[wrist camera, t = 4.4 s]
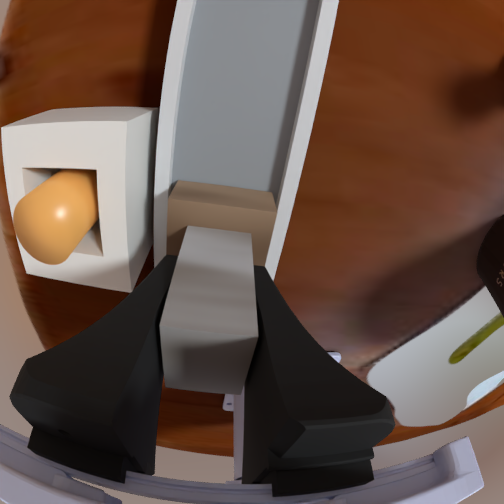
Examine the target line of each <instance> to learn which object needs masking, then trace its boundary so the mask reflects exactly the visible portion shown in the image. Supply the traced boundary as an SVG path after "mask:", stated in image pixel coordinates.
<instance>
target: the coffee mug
mask: <svg viewBox="0 0 504 504" xmlns="http://www.w3.org/2000/svg"><path fill="white" fill-rule="evenodd" d="M477 271H478V274H479V276H480V278H481V279H482V281H483V282H484V284H485V286H486V287H487V289H488V290H489V292H490V293H491V296H492V297H493V299H494V301H495V302H496V304H497V306H498V307H499V310H500V311H501V313H502V315H503V317H504V215H503V216H502V217H501V218H500V219H499V220H498V221H497V222H496V223H495V224H494V225H493V226H492V228H491V229H490V231H489V232H488V234H487V235H486V237H485V239H484V241H483V243H482V246H481V248H480V251H479V254H478V258H477Z"/></svg>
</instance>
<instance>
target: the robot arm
mask: <svg viewBox="0 0 504 504" xmlns="http://www.w3.org/2000/svg"><path fill="white" fill-rule="evenodd" d="M177 259H178V256H175V255H166V256H164V257H163V258H162V260H161V261H160V262H159V263H158V264H157V266H156V267H155V268H154V269H153V270H152V271H151V272H150V274H149V275H148V276H147V277H146V278H145V279H144V280H143V281H142V282H141V283H140V284H139V285H138V286H137V287H136V288H135V289H134V290H133V291H132V292H131V293H130V294H129V295H128V296H127V297H126V298H125V299H124V300H123V301H121V302H120V303H119V304H118V305H117V306H116V307H115V308H113V309H112V310H111V311H110V312H108V313H107V314H106V315H105V316H103V317H102V318H101V319H99V320H98V321H97V322H95V323H94V324H92V325H91V326H89V327H88V328H86V329H85V330H83V331H82V332H80V333H79V334H77V335H75V336H74V337H72V338H70V339H68V340H67V341H65V342H63V343H61V344H59V345H57V346H55V347H53V348H51V349H49V350H47V351H44V352H42V353H40V354H38V355H36V356H33V357H31V358H28V359H27V360H26V361H25V363H24V365H23V366H22V368H21V370H20V372H19V375H18V377H17V380H16V382H15V384H14V387H13V389H12V391H11V394H10V399H11V402H12V404H13V406H14V407H15V408H16V410H17V411H18V412H19V413H20V414H21V415H22V416H23V417H24V418H25V419H26V420H27V421H28V422H29V423H30V424H31V425H32V426H33V429H32V432H31V436H30V438H27V437H25V436H23V435H21V434H19V433H17V432H15V431H13V430H11V429H9V428H7V427H4V426H3V425H1V424H0V499H1V500H2V501H3V502H5V503H6V504H122V501H121V500H119V499H117V498H114V497H112V496H110V495H108V494H106V493H105V492H104V491H103V490H101V489H98V488H95V487H93V486H90V485H87V484H85V483H82V482H79V481H77V480H74V479H73V478H72V477H74V478H77V479H80V480H83V481H86V482H90V483H92V484H96V485H99V486H103V487H106V488H110V489H114V490H118V491H122V492H126V493H130V494H135V495H140V496H145V497H151V498H156V499H162V500H168V501H176V502H184V503H194V504H457V503H458V502H460V501H462V500H463V499H465V498H467V497H468V496H470V495H472V494H473V493H474V492H477V491H478V490H480V489H481V488H483V487H484V483H483V479H482V476H481V473H480V469H479V466H478V463H477V460H476V457H475V454H474V451H473V449H472V446H471V443H470V440H469V437H468V436H465V437H463V438H461V439H458V440H455V441H453V442H450V443H448V444H446V445H444V446H442V447H441V448H439V449H438V450H436V451H435V452H434V453H433V454H430V455H427V456H424V457H422V458H419V459H415V460H412V461H409V462H405V463H402V464H398V465H394V466H391V467H387V468H383V469H378V470H374V471H373V470H372V466H371V461H370V459H373V458H374V452H373V448H372V447H374V446H375V445H376V444H378V443H379V442H380V441H382V440H383V439H384V438H385V437H387V436H388V435H389V434H390V433H391V432H392V430H393V429H394V427H395V422H394V418H393V415H392V411H391V408H390V405H389V403H388V400H387V398H386V396H384V395H383V394H381V393H380V392H378V391H376V390H375V389H373V388H372V387H370V386H369V385H367V384H366V383H364V382H362V381H361V380H360V379H358V378H357V377H356V376H354V375H353V374H352V373H350V372H349V371H348V370H347V369H345V368H344V367H343V366H342V365H341V364H339V361H340V360H341V355H340V353H337V352H326V351H325V350H324V349H323V348H322V347H321V346H320V345H319V344H318V343H317V342H316V341H315V340H314V338H313V337H312V336H311V335H310V334H309V333H308V332H307V330H306V329H305V328H304V327H303V325H302V324H301V323H300V322H299V320H298V319H297V318H296V316H295V315H294V313H293V312H292V311H291V309H290V308H289V306H288V305H287V303H286V302H285V300H284V298H283V297H282V295H281V294H280V292H279V290H278V289H277V287H276V285H275V284H274V282H273V280H272V278H271V276H270V274H269V273H268V271H267V269H266V268H265V266H258V265H253V267H254V281H255V295H256V310H257V324H258V340H257V343H256V346H255V350H254V353H253V357H252V360H251V363H250V367H249V370H248V373H247V377H246V380H245V383H244V387H243V390H242V393H241V395H233V394H225V397H224V402H223V409H224V410H226V411H234V481H226V484H220V483H205V482H194V481H184V480H176V479H168V478H162V477H156V476H152V475H153V474H154V473H155V471H154V470H155V450H156V437H157V425H158V415H159V406H160V397H161V390H162V382H163V376H164V370H163V360H162V349H161V337H160V322H161V318H162V314H163V310H164V306H165V302H166V299H167V295H168V291H169V288H170V284H171V280H172V277H173V273H174V270H175V266H176V263H177Z"/></svg>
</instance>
